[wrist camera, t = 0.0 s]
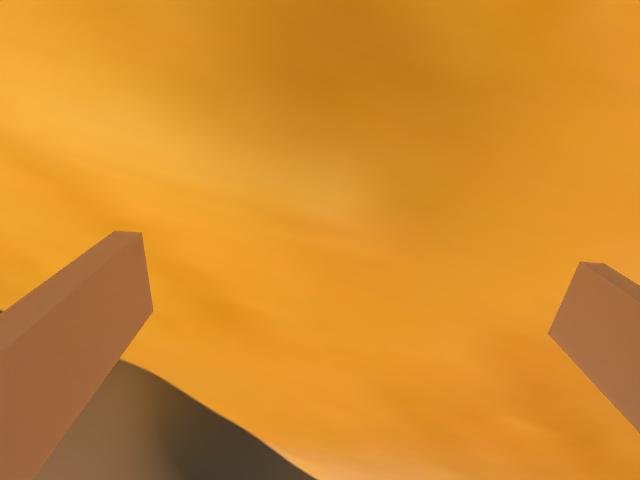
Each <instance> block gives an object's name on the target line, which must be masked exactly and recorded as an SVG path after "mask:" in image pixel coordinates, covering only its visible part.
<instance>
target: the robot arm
mask: <svg viewBox="0 0 640 480" xmlns="http://www.w3.org/2000/svg"><path fill="white" fill-rule="evenodd" d="M152 312H153V305H152V298H151V292H150V285H149V278H148V272H147V265H146V258H145V252H144V245H143V238H142V233H139V232H124V231H114V232H112V233H111V234H110V235H108V236H107V237H106V238H104V239H103V240H101V241H100V242H99V243H97V244H96V245H95V246H93V247H92V248H91V249H89V250H88V251H86V252H85V253H84V254H82V255H81V256H80V257H78V258H77V259H75V260H74V261H73V262H71V263H70V264H69V265H67V266H66V267H64V268H63V269H62V270H60V271H59V272H58V273H56V274H55V275H53V276H52V277H51V278H49V279H48V280H47V281H45V282H44V283H42V284H41V285H40V286H38V287H37V288H36V289H34V290H33V291H31V292H30V293H29V294H27V295H26V296H25V297H23V298H22V299H20V300H19V301H18V302H16V303H15V304H14V305H12V306H11V307H9V308H8V309H7V310H5V311H4V312H3V313H1V314H0V480H32V479H33V477H34V476H35V475H36V473H37V472H38V470H39V469H40V468H41V466H42V465H43V463H44V462H45V461H46V459H47V458H48V457H49V455H50V454H51V452H52V451H53V450H54V448H55V447H56V445H57V444H58V443H59V441H60V440H61V439H62V437H63V436H64V434H65V433H66V432H67V430H68V429H69V427H70V426H71V425H72V423H73V422H74V421H75V419H76V418H77V416H78V415H79V414H80V412H81V411H82V409H83V408H84V407H85V405H86V404H87V402H88V401H89V400H90V398H91V397H92V396H93V394H94V393H95V391H96V390H97V388H98V387H99V386H100V384H101V383H102V382H103V380H104V379H105V377H106V376H107V375H108V373H109V372H110V370H111V369H112V368H113V366H114V365H115V364H116V362H117V361H118V359H119V358H120V357H121V355H122V354H123V352H124V351H125V350H126V348H127V347H128V346H129V344H130V343H131V341H132V340H133V339H134V337H135V336H136V334H137V333H138V332H139V330H140V329H141V327H142V326H143V325H144V323H145V322H146V321H147V319H148V318H149V316H150V315H151V314H152ZM548 334H549V335H550V336H551V338H552V339H553V340H554V341H555V342H556V343H557V344H558V345H559V346H560V347H561V348H562V349H563V351H564V352H565V353H566V354H567V355H568V356H569V357H570V358H571V359H572V360H573V361H574V362H575V364H576V365H577V366H578V367H579V368H580V369H581V370H582V371H583V372H584V373H585V374H586V375H587V377H588V378H589V379H590V380H591V381H592V382H593V383H594V384H595V385H596V386H597V387H598V388H599V390H600V391H601V392H602V393H603V394H604V395H605V396H606V397H607V398H608V399H609V400H610V401H611V402H612V404H613V405H614V406H615V407H616V408H617V409H618V410H619V411H620V412H621V413H622V414H623V415H624V417H625V418H626V419H627V420H628V421H629V422H630V423H631V424H632V425H633V426H634V427H635V428H636V430H637V431H638V432H639V433H640V286H639V285H638V284H636V283H634V282H633V281H631V280H630V279H628V278H626V277H625V276H623V275H622V274H620V273H618V272H617V271H615V270H614V269H612V268H610V267H609V266H607V265H606V264H604V263H589V262H580V263H579V265H578V267H577V269H576V272H575V274H574V276H573V278H572V281H571V283H570V285H569V287H568V290H567V292H566V294H565V296H564V299H563V301H562V303H561V305H560V308H559V310H558V312H557V314H556V317H555V319H554V321H553V324H552V326H551V328H550V330H549V333H548Z"/></svg>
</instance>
